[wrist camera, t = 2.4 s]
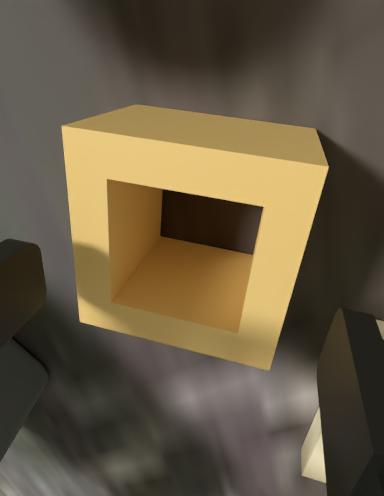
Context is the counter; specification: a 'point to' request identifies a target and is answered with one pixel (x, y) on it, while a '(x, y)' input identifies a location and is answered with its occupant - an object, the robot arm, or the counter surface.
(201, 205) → the counter surface
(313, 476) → the post stand
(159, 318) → the ring
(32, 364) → the storage bin
